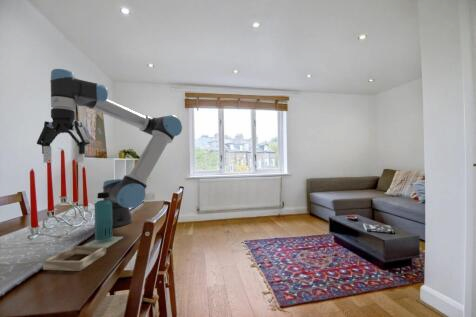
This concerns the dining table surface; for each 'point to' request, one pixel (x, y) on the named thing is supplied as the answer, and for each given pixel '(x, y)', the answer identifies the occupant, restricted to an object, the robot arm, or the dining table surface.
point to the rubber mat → (104, 242)
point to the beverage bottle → (103, 218)
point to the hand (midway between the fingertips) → (63, 162)
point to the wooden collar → (59, 264)
